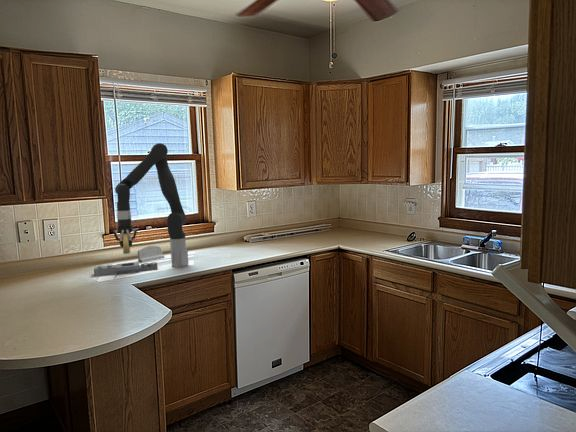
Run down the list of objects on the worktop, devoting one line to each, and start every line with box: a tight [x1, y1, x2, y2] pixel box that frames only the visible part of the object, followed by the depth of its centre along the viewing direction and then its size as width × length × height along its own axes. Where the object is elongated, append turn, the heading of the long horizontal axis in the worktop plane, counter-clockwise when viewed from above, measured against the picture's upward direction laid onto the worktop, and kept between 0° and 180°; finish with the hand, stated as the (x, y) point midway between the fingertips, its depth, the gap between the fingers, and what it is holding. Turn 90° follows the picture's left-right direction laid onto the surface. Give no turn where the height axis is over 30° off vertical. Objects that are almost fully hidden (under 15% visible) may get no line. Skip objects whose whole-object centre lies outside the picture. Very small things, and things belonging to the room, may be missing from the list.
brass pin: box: [122, 233, 131, 255], centre depth 257 cm, size 4×4×12 cm
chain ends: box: [93, 261, 158, 277], centre depth 258 cm, size 35×11×5 cm, turn 110°
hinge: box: [137, 245, 165, 263], centre depth 288 cm, size 17×5×10 cm, turn 134°
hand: (126, 246), depth 257 cm, fingers closed on brass pin, 4 cm apart
